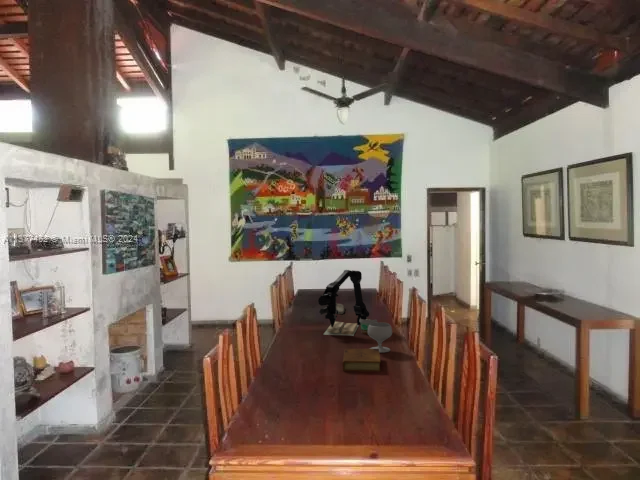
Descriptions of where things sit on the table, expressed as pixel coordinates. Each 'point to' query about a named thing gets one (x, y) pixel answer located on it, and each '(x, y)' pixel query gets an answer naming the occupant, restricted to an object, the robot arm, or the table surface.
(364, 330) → the food container
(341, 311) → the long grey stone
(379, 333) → the chalice
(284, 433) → the table surface
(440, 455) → the table surface
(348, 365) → the diary
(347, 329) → the oak board
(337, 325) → the plank
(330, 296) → the robot arm
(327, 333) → the underlay mat
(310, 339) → the table surface
